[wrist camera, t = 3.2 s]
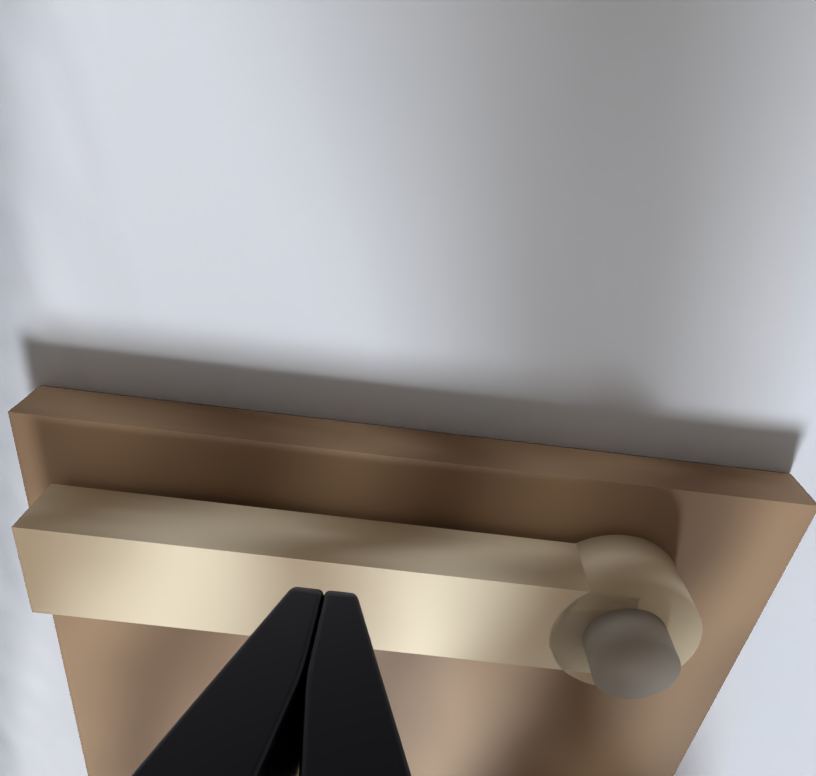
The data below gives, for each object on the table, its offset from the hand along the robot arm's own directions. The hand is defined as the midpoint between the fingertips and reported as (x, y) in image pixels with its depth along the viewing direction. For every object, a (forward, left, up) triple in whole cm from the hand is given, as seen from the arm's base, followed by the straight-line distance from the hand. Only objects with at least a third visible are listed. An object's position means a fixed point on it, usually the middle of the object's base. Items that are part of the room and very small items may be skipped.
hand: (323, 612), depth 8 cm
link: (0, +6, -8) cm, 10 cm away
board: (-1, +14, -10) cm, 17 cm away
